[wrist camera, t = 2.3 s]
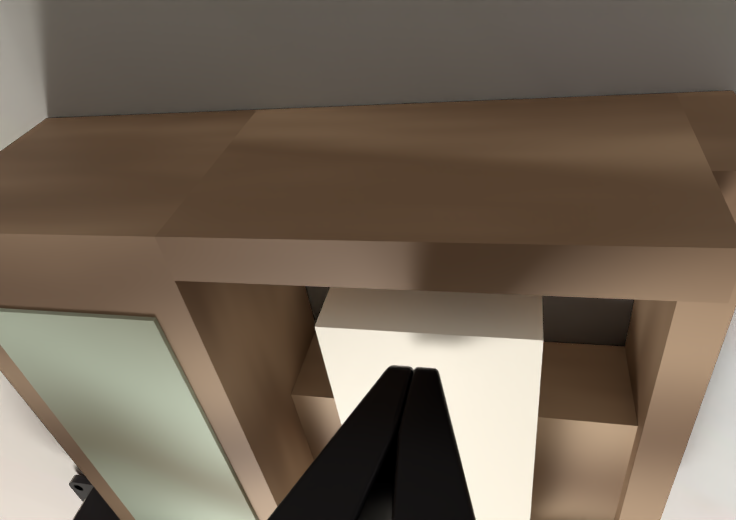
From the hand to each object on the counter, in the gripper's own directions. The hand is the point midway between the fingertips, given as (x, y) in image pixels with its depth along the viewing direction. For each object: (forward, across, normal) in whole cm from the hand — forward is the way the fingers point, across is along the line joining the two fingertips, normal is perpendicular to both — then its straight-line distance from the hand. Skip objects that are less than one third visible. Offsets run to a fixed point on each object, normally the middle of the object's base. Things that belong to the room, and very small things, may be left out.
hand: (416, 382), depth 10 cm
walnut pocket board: (+6, +2, +5) cm, 8 cm away
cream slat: (+3, 0, +5) cm, 6 cm away
